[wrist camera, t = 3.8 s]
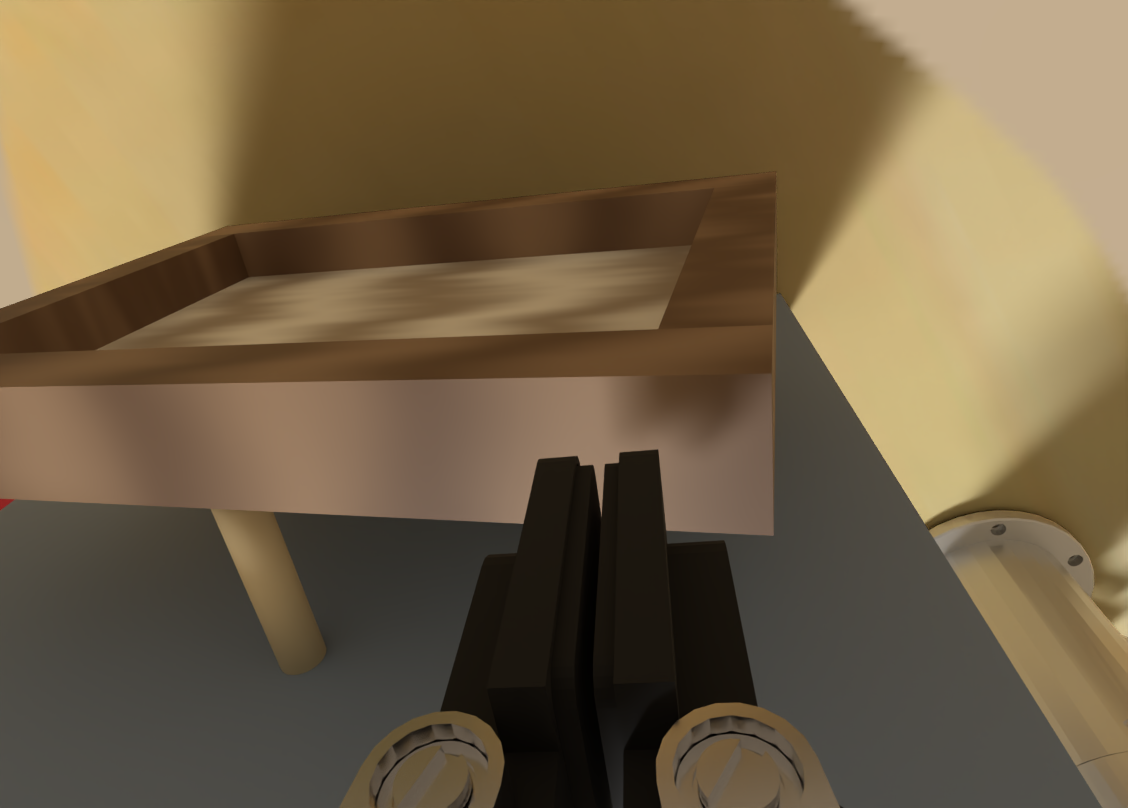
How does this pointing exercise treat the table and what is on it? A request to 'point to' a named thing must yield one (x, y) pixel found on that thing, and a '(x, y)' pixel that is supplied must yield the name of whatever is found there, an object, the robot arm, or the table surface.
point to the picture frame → (414, 360)
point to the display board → (435, 625)
